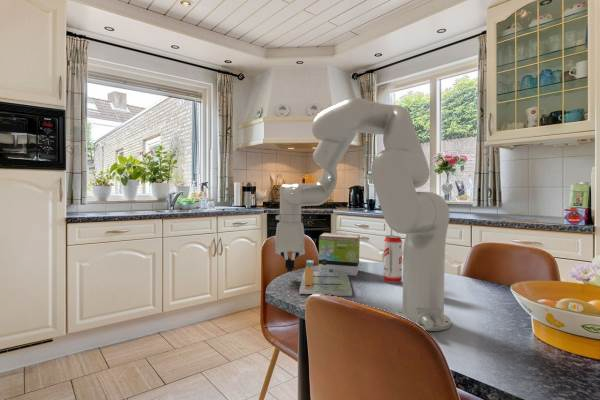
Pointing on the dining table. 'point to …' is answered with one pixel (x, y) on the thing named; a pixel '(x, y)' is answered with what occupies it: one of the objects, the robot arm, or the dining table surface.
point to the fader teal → (310, 264)
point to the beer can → (392, 259)
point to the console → (327, 284)
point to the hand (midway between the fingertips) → (289, 270)
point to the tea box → (339, 253)
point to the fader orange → (309, 275)
